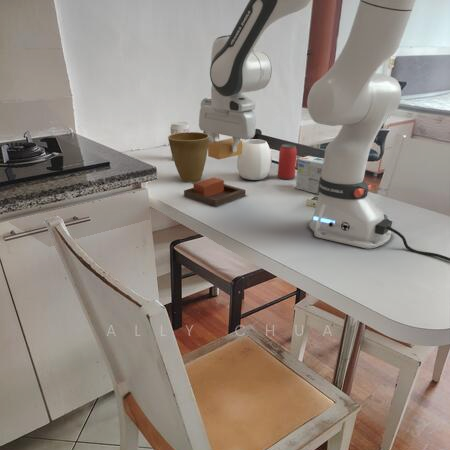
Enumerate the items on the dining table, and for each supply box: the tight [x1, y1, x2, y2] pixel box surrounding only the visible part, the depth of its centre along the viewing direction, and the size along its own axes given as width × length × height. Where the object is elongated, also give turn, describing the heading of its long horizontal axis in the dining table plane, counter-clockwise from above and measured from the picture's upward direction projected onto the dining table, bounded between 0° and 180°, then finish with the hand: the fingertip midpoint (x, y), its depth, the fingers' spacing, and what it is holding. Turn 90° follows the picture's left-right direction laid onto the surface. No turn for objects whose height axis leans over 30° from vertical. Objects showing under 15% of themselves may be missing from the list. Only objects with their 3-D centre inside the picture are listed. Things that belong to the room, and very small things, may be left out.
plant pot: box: [167, 131, 209, 183], centre depth 154 cm, size 15×15×16 cm
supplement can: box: [169, 121, 191, 159], centre depth 181 cm, size 8×8×15 cm
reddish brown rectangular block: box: [192, 177, 225, 196], centre depth 142 cm, size 5×10×4 cm, turn 137°
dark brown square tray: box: [183, 183, 247, 208], centre depth 141 cm, size 15×15×2 cm
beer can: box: [277, 143, 298, 180], centre depth 158 cm, size 7×7×12 cm
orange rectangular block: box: [207, 137, 243, 160], centre depth 127 cm, size 5×10×4 cm, turn 133°
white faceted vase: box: [236, 138, 273, 181], centre depth 157 cm, size 13×13×14 cm
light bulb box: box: [295, 155, 324, 195], centre depth 145 cm, size 11×7×11 cm, turn 47°
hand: (225, 149), depth 128 cm, fingers closed on orange rectangular block, 5 cm apart
